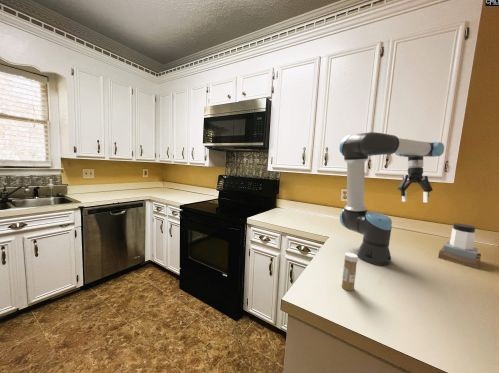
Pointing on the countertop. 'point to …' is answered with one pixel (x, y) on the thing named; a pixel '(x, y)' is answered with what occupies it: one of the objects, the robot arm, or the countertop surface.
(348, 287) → the sprinkles bottle
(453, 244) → the jar
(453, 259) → the walnut base brick
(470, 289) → the countertop surface
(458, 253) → the grey top brick
